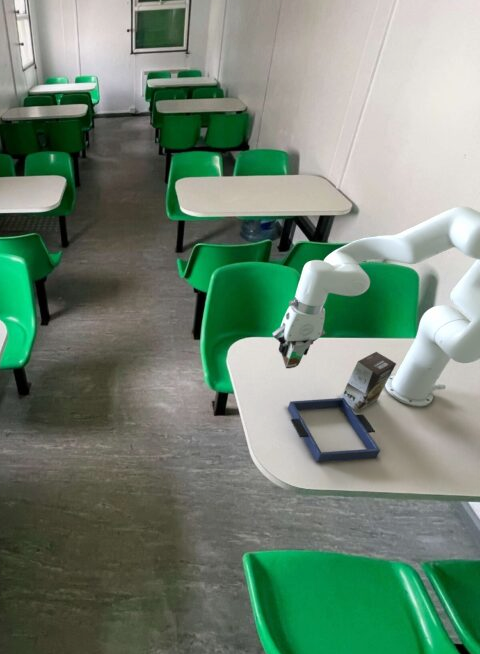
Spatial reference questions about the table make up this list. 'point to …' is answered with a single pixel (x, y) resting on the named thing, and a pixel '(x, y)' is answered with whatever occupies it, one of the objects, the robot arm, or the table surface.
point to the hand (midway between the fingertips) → (292, 352)
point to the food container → (295, 352)
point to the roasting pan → (356, 421)
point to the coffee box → (367, 380)
